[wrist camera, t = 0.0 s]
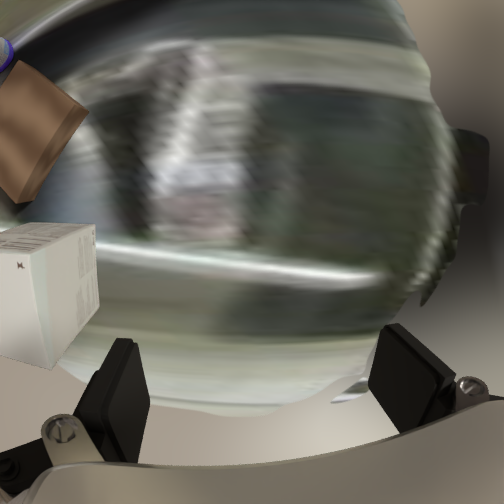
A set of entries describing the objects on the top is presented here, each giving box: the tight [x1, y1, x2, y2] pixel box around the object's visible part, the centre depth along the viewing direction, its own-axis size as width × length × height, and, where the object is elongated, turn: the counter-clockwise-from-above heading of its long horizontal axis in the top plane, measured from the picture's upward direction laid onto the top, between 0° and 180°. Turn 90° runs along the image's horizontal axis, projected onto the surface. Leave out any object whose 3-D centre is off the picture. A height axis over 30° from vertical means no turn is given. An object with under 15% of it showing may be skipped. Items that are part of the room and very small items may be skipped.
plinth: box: [0, 60, 89, 204], centre depth 30 cm, size 16×16×5 cm
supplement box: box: [0, 223, 99, 370], centre depth 30 cm, size 13×13×18 cm
